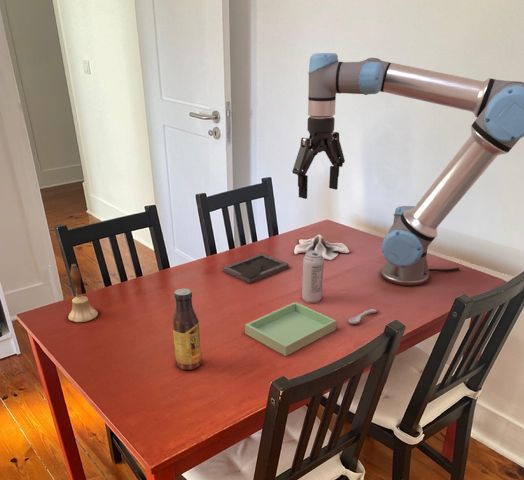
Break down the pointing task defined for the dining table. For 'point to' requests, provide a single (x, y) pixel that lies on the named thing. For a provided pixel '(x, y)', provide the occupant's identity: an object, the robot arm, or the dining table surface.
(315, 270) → the energy drink can
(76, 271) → the hand bell
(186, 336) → the sauce bottle
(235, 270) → the picture frame
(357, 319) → the spoon
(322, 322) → the tray
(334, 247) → the cloth
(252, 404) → the dining table surface
